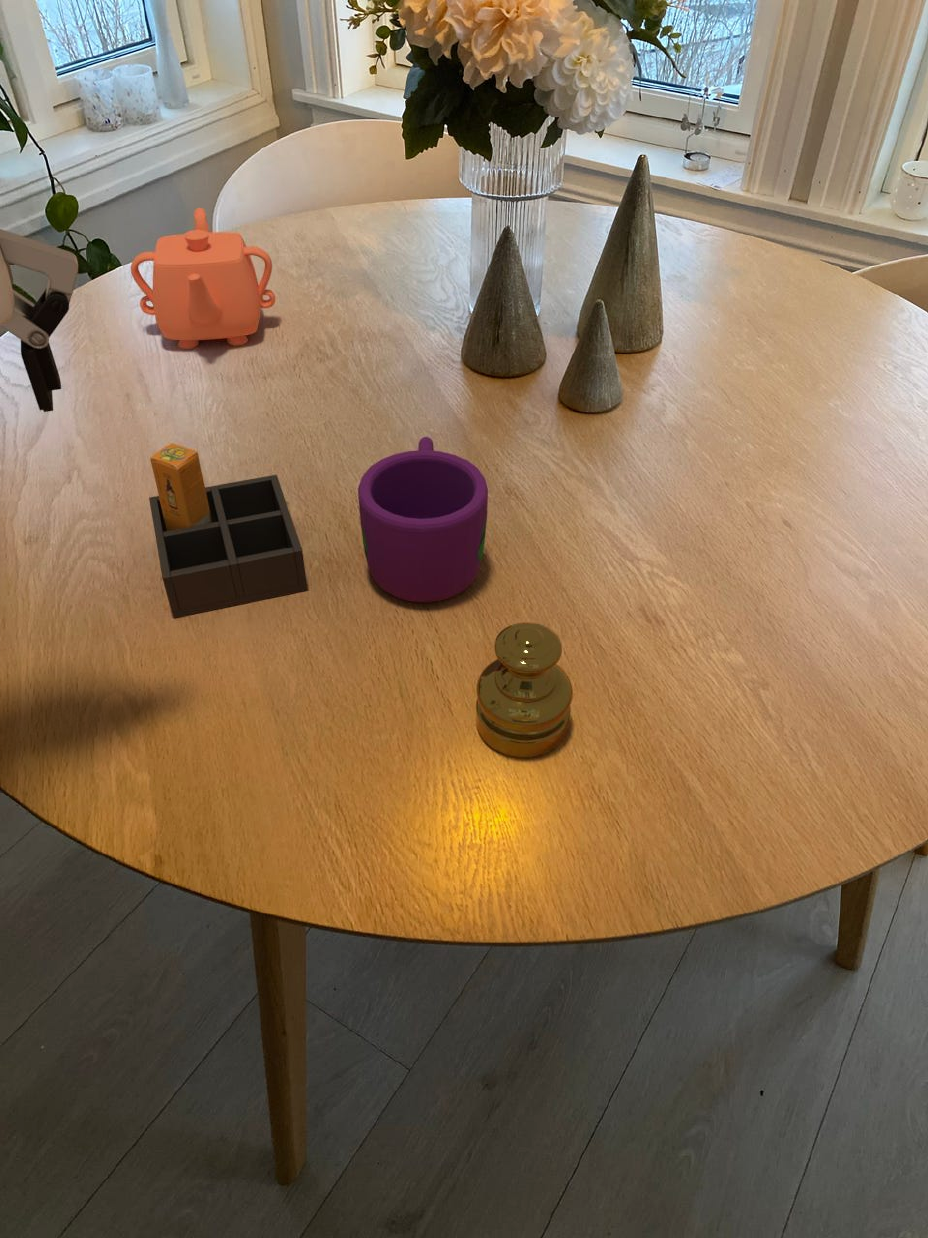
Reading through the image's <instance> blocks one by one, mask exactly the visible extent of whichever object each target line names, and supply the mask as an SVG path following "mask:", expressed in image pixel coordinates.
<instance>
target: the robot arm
mask: <svg viewBox="0 0 928 1238" xmlns="http://www.w3.org/2000/svg"><path fill="white" fill-rule="evenodd" d="M10 264H12V265H15V266H18V267H21V268H24V269H28V270H31V271H34V272H37V273H40V274H43V275H45V276H47V278H48V282H47V286H46V288H45V289H44V291H43V293H42V294H41V295H40V297H39V298H38V300H37V301H36V302H35V303H33V302H32V301H31V300H29V299H28V298H26V297H25V296H23V295H22V294H20V292H18V291H16V290H15V289H13V286H14V278H13V273H12V268H11V266H10ZM78 274H79V263H78V258H77V256H76V255H75V253H73V252H72V251H69V250H66V249H62V248H59V247H57V246H53V245H51V244H48V243H45V242H41V241H38V240H35V239H32V238H29V237H26V236H24V235H20V234H17V233H14V232H10V231H7V230H5V229H1V228H0V328H3V329H4V330H6V331H7V332H8V333H10V334H11V335H13V336H14V337H16V338H18V339H19V340H20V355H21V359H22V362H23V365H24V368H25V371H26V374H27V377H28V380H29V383H30V386H31V389H32V392H33V395H34V397H35V400H36V404H37V406H38V409H39V411H43V413H48V412H53V411H54V399H53V391H58V390H62V381H61V377H60V373H59V369H58V367H57V365H56V364H57V363H56V360H55V357H54V354H53V351H52V347H51V345H50V344H51V343H50V337H51V336H52V335H53V333H54V332H55V331H56V329H57V328H58V326H59V325H60V324H61V322H62V321H63V319H64V318H65V316H66V315H67V314H68V312H69V310H70V304H71V299H72V296H73V293H74V290H75V285H76V281H77V277H78Z"/></svg>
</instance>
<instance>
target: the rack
mask: <svg viewBox="0 0 928 1238" xmlns="http://www.w3.org/2000/svg"><path fill="white" fill-rule="evenodd" d="M205 490H206V495H207V500H208V504H209V509H210V514H211V519H212V523H209V524H203V525H198V526H193V527H187V528H182V529H177V530H171V531H167V530H166V525H165V521H164V517H163V513H162V508H161V504H160V499H159V495H156V496H150V497H148V500H149V506H150V512H151V519H152V525H153V530H154V535H155V536H154V537H155V543H156V548H157V553H158V560H159V566H160V571H161V572H160V573H161V577H162V578H161V579H162V581H163V586H164V588H165V592H166V596H167V600H168V603H169V607H170V611H171V614H172V618H173V619H177V618H182V617H187V616H190V615H195V614H200V613H206V612H209V611H210V612H211V611H215V610H220V609H225V608H229V607H233V606H238V605H243V604H247V603H248V604H249V603H254V602H259V601H263V600H268V599H272V598H277V597H282V596H286V595H291V594H296V593H301V592H305V591H308V582H307V575H306V567H305V561H304V554H303V547H302V545H301V542H300V539H299V537H298V533H297V530H296V527H295V525H294V522H293V519H292V516H291V513H290V510H289V507H288V504H287V501H286V498H285V495H284V492H283V489H282V485H281V483H280V479H279V478H278V475H277V474H271V475H267V476H261V477H256V478H255V477H254V478H249V479H244V480H239V481H238V480H237V481H232V482H226V483H221V484H216V485H211V486H205Z"/></svg>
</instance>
